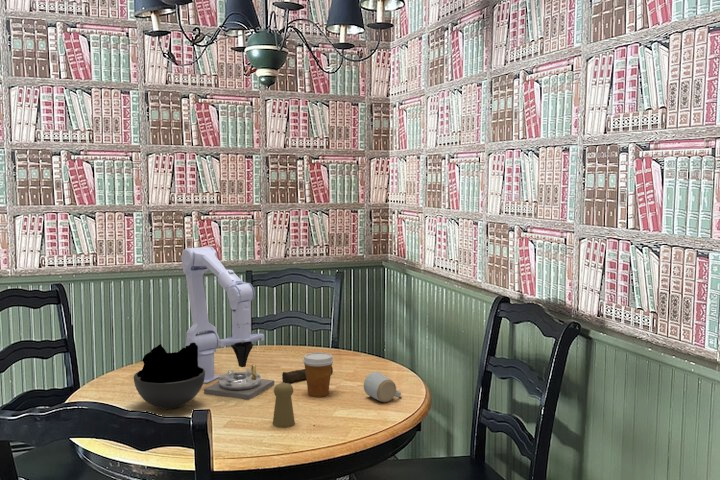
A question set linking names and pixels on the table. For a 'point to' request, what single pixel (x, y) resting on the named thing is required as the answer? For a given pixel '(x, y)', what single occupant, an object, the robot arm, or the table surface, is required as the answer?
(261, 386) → the base plate
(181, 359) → the coal bowl
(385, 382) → the ceramic mug
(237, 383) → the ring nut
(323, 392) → the disposable coffee cup
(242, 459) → the table surface
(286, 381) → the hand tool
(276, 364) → the table surface
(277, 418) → the olive pawn figure
